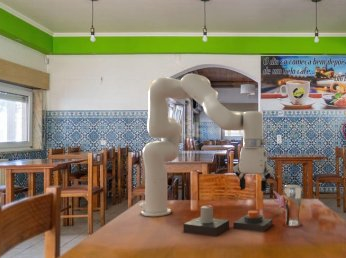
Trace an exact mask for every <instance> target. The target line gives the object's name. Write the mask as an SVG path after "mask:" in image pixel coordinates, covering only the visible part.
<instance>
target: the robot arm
mask: <svg viewBox="0 0 346 258" xmlns="http://www.w3.org/2000/svg"><path fill="white" fill-rule="evenodd" d="M167 98H170V99H176V100H186V99H193V100H194V101H195V102H196V103H197V104H198V105H199V106H201V107H202V108H203V112H204V113H205V115H206V116H207V117H208V119H209V120H210V121H211V122H213V123H214V124H215V125H216V127H219V128H220V129H222V130H223V131H236V132H237V131H242V147H241V148H240V154H239V163H237V164H236V165H235V166H233V167H232V171H233V172H234V174H235V176H236V177H237V178H238V180H239V188H240V191H243V190H245V189H246V178H245V177H246V175H247V174H249V175H259V176H260V177H261V181H260V191H261V192H266V190H267V188H268V179H269V178H271V176H272V175H273V173H274V172H275V169H274V168H273V166H271V165H269V164H268V158H267V156H268V155H267V150H266V147H264V145H267V140H264V129H263V128H264V120H263V119H264V118H263V116H264V115H263V113H262V112H261V111H259V110H248V111H238V110H237V111H236V110H230V109H228V108H227V107H225V106H224V105H223V104H222V103H221V102H220V101H219V100H218V99H219V92H218V91H217V90H215V89H214V88H213V87H212V84H211V81H210V80H209V78H207V77H206V76H204V75H200V74H197V73H186V74H185V75H183V76H182V78H181V79H177V78H173V77H168V76H167V77H164V76H163V77H158V78H156V79H155V80H153V81H152V82H151V84H150V86H149V88H148V112H147V113H148V116H147V133H148V134H147V135H148V136H149V137H151V138H152V139H161V140H159V141H158V140H157V141H151V142H148V143H146V144H145V145H144V146H143V149H142V159H143V163H144V181H145V182H144V187H145V188H144V202H140V204H139V205H138V208H140V209H142V211H141V216H144V217H163V216H167V215H170V214H171V213H172V209H171V208H169V207H168V170H167V169H168V168H167V166H166V164H165V163H167V162H173V161H175V160H176V159H177V158H178V156H179V153H180V141H181V139H180V138H181V126H180V123H179V122H178V120H177V119H176V118H174V117H169V110H170V109H169V107H170V106H169V104H168V101H167Z"/></svg>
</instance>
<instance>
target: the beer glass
mask: <svg viewBox="0 0 346 258" xmlns="http://www.w3.org/2000/svg"><path fill="white" fill-rule="evenodd" d="M282 195H283V203H284V209H285V211H284V215H285V216H284V223H283V224H284V226H286V227H289V228H295V227H296V228H297V227H300V226H301V221H300V211H301V205H302V188H301V185H299V184H284V185H283V189H282ZM284 209H283V210H284Z"/></svg>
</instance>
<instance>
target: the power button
mask: <svg viewBox="0 0 346 258" xmlns="http://www.w3.org/2000/svg"><path fill="white" fill-rule="evenodd" d="M259 213H260V212H259V211H258V210H248V211H247V214H248V217H251V218H256V217H259V215H260V214H259Z"/></svg>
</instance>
